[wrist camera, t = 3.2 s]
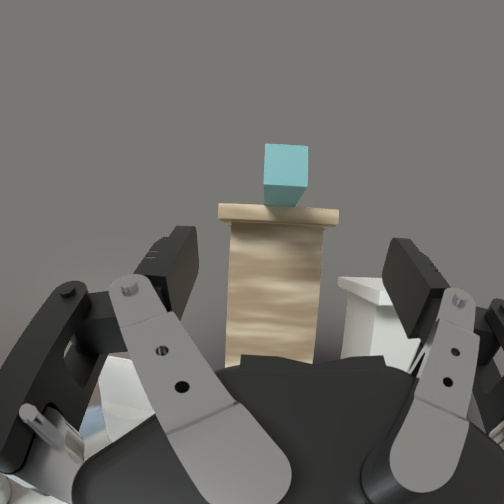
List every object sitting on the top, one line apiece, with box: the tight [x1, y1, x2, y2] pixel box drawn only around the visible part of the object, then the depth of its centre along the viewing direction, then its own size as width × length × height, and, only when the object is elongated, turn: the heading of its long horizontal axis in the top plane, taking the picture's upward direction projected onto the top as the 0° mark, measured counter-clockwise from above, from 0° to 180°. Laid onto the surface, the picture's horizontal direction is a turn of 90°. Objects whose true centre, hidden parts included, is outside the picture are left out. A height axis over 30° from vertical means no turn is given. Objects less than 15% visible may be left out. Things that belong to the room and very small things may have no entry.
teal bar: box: [264, 144, 308, 207], centre depth 31 cm, size 24×3×3 cm, turn 177°
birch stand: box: [218, 203, 339, 368], centre depth 37 cm, size 18×12×32 cm, turn 177°
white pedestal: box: [338, 277, 421, 372], centre depth 37 cm, size 18×12×24 cm, turn 177°
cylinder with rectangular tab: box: [98, 356, 155, 443], centre depth 33 cm, size 9×9×12 cm
